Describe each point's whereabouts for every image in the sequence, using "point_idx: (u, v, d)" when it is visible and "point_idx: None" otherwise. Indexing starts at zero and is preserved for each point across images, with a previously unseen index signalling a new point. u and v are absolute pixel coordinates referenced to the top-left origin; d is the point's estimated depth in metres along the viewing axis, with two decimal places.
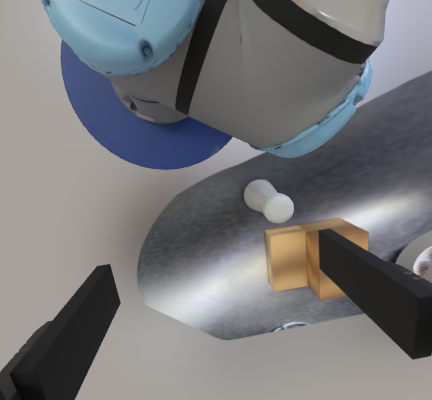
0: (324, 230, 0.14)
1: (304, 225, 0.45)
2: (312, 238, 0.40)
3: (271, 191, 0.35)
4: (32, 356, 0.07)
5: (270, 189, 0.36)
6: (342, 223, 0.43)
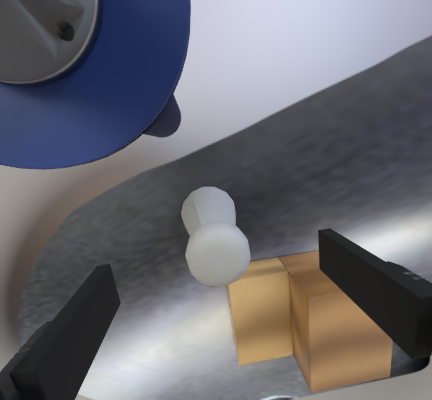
0: (324, 230, 0.14)
1: (287, 259, 0.28)
2: (298, 289, 0.23)
3: (214, 212, 0.18)
4: (32, 356, 0.07)
5: (215, 208, 0.19)
6: None
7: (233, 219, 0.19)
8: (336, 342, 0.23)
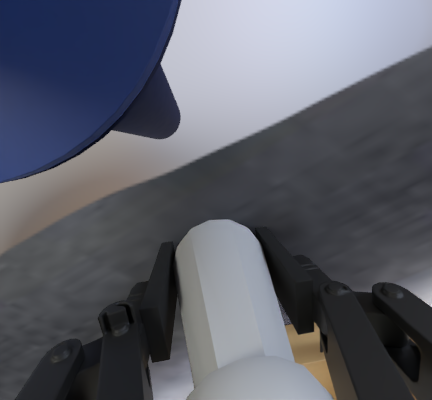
0: (260, 228, 0.16)
1: None
2: None
3: (240, 299, 0.08)
4: (150, 299, 0.10)
5: (239, 281, 0.09)
6: None
7: (276, 303, 0.09)
8: None
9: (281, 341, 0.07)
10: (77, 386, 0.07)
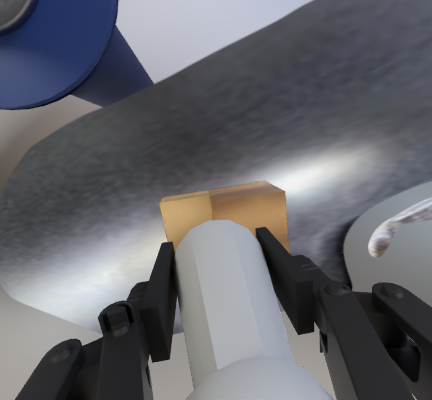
0: (260, 228, 0.16)
1: (214, 190, 0.34)
2: (211, 203, 0.29)
3: (240, 299, 0.08)
4: (150, 299, 0.10)
5: (239, 282, 0.09)
6: (262, 185, 0.32)
7: (275, 303, 0.09)
8: None
9: (281, 342, 0.07)
10: (77, 386, 0.07)
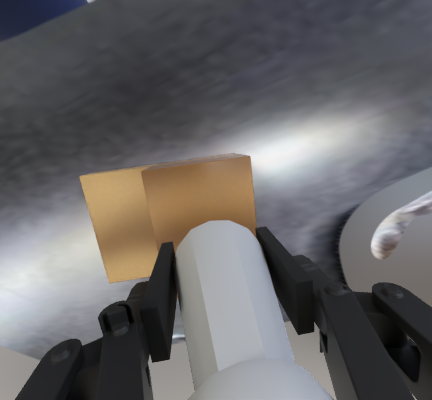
0: (260, 228, 0.16)
1: (164, 163, 0.25)
2: None
3: (241, 300, 0.08)
4: (150, 299, 0.10)
5: (239, 282, 0.09)
6: (226, 155, 0.23)
7: (276, 304, 0.09)
8: (186, 233, 0.20)
9: (282, 343, 0.07)
10: (77, 386, 0.07)
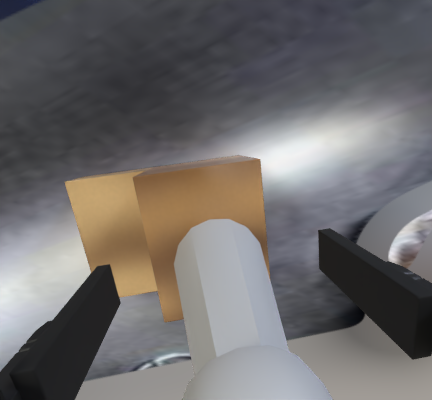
0: (324, 230, 0.14)
1: (161, 166, 0.22)
2: None
3: (239, 294, 0.09)
4: (32, 356, 0.07)
5: (238, 278, 0.09)
6: (230, 158, 0.21)
7: (273, 298, 0.10)
8: None
9: (277, 334, 0.08)
10: None
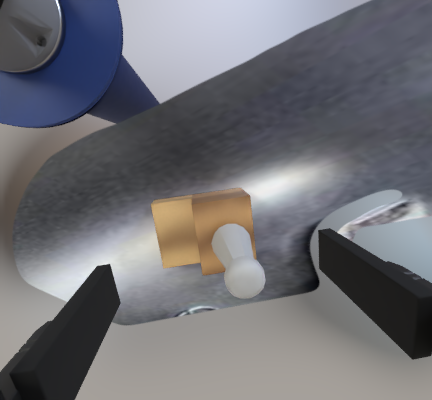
0: (324, 230, 0.14)
1: (197, 194, 0.41)
2: None
3: (240, 248, 0.27)
4: (32, 356, 0.07)
5: (239, 244, 0.28)
6: (235, 191, 0.39)
7: (251, 251, 0.28)
8: None
9: (251, 258, 0.26)
10: None
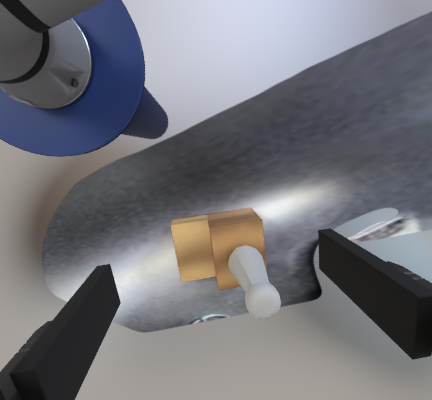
0: (324, 230, 0.14)
1: (212, 214, 0.44)
2: None
3: (256, 272, 0.31)
4: (32, 356, 0.07)
5: (255, 268, 0.32)
6: (247, 212, 0.43)
7: (266, 274, 0.32)
8: None
9: (267, 282, 0.30)
10: None
